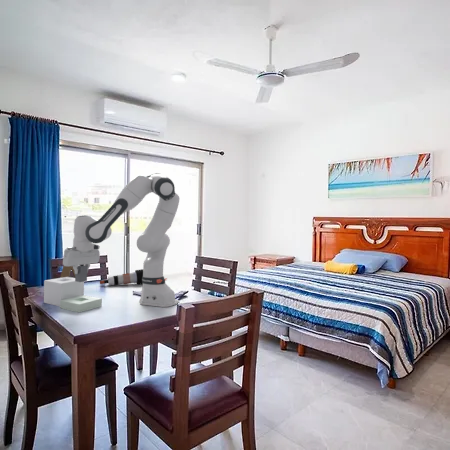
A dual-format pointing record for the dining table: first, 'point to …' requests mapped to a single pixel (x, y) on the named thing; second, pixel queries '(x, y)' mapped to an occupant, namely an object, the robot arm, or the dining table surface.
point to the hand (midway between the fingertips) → (81, 273)
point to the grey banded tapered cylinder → (125, 278)
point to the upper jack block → (61, 289)
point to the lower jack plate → (80, 303)
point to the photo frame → (67, 271)
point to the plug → (81, 273)
